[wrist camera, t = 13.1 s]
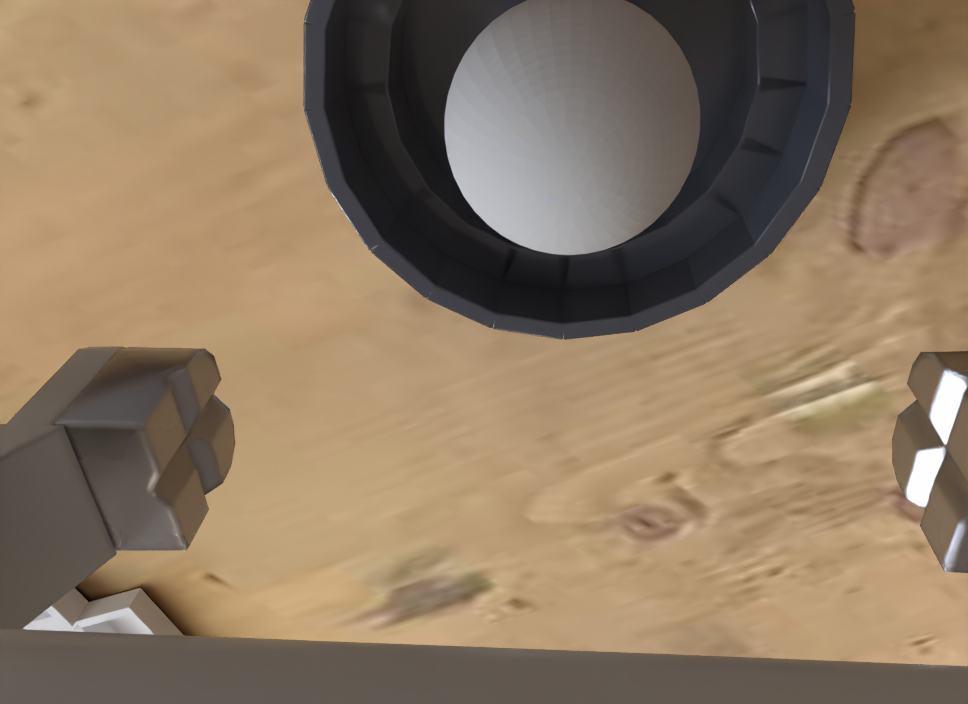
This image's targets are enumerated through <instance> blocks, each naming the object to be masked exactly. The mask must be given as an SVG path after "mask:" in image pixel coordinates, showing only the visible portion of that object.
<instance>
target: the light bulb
mask: <svg viewBox="0 0 968 704" xmlns="http://www.w3.org/2000/svg"><path fill="white" fill-rule="evenodd" d="M699 134H700V104H699V98H698V91H697V86H696V83H695V80H694V77H693V74H692V71H691V68H690V65H689V63H688V61H687V60H686V58H685V56H684V54H683V52H682V50H681V48H680V47H679V45H678V44H677V43H676V41H675V40H674V39H673V38H672V36H671V35H670V34H669V32H668V31H667V30H666V29H665V28H664V27H663V26H662V25H661V24H660V23H659V22H658V21H656V20H655V19H654V18H653V17H652V16H651V15H650V14H648V13H646V12H645V11H643V10H642V9H640V8H639V7H637V6H635V5H634V4H632V3H630V2H627V1H625V0H526V1H524V2H522V3H520V4H518V5H516V6H514V7H512V8H510V9H509V10H507V11H506V12H505V13H503V14H502V15H500V16H499V17H498V18H496V19H495V20H493V21H492V22H491V23H490V24H489V25H488V26H487V27H486V28H485V29H484V30H483V31H482V32H481V33H480V34H479V35H478V36H477V38H476V39H475V40H474V42H473V43H472V45H471V46H470V47H469V49H468V50H467V51H466V53H465V54H464V56H463V58H462V60H461V62H460V64H459V66H458V68H457V70H456V72H455V74H454V77H453V80H452V83H451V86H450V90H449V93H448V97H447V103H446V110H445V143H446V149H447V156H448V160H449V163H450V166H451V169H452V173H453V176H454V178H455V180H456V182H457V184H458V186H459V188H460V190H461V192H462V194H463V196H464V197H465V199H466V200H467V201H468V203H469V204H470V206H471V207H472V208H473V210H474V211H475V212H476V213H477V214H478V215H479V216H480V217H481V218H482V219H483V220H484V221H485V222H486V223H487V224H488V225H489V226H490V227H491V228H493V229H494V230H495V231H497V232H498V233H499V234H501V235H502V236H504V237H506V238H507V239H509V240H511V241H513V242H515V243H517V244H519V245H522V246H524V247H527V248H530V249H532V250H536V251H540V252H545V253H550V254H560V255H577V254H588V253H592V252H597V251H601V250H605V249H608V248H611V247H613V246H616V245H619V244H621V243H623V242H625V241H627V240H629V239H630V238H632V237H634V236H636V235H638V234H639V233H641V232H642V231H643V230H644V229H646V228H647V227H648V226H650V225H651V224H652V223H654V222H655V221H656V220H657V219H658V218H659V217H660V215H661V214H662V213H663V212H664V211H665V210H666V209H667V208H668V207H669V206H670V204H671V203H672V202H673V200H674V199H675V198H676V196H677V195H678V193H679V192H680V190H681V188H682V186H683V184H684V182H685V180H686V179H687V177H688V175H689V173H690V170H691V167H692V164H693V161H694V158H695V155H696V151H697V146H698V140H699Z"/></svg>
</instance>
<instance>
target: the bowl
mask: <svg viewBox="0 0 968 704" xmlns="http://www.w3.org/2000/svg"><path fill="white" fill-rule="evenodd" d="M524 1H526V0H310V3H309V6H308V9H307V12H306V15H305V22H304V108H305V109H304V112H305V115H306V118H307V121H308V125H309V128H310V131H311V135H312V138H313V141H314V145H315V148H316V151H317V154H318V158H319V161H320V164H321V168H322V171H323V174H324V178H325V181H326V184H327V186H328V189H329V190H330V192H331V193H332V195H333V196H334V198H335V199H336V201H337V203H338V204H339V206H340V207H341V209H342V210H343V212H344V213H345V215H346V216H347V218H348V219H349V221H350V222H351V224H352V225H353V227H354V228H355V230H356V231H357V233H358V234H359V236H360V237H361V239H362V240H363V242H364V243H365V245H366V246H367V248H368V249H369V250H371V252H372V253H373V254H374V255H375V256H376V257H377V258H379V259H380V260H381V261H382V262H383V263H384V264H386V265H387V266H388V267H389V268H390V269H392V270H393V271H394V272H395V273H396V274H397V275H399V276H400V277H401V278H402V279H403V280H404V281H406V282H407V283H408V284H409V285H410V286H412V287H413V288H414V289H415V290H416V291H417V292H419V293H420V294H421V295H422V296H423V297H425V298H426V297H427V299H428V300H430V301H432V302H434V303H436V304H439V305H441V306H443V307H445V308H447V309H449V310H452V311H454V312H456V313H458V314H460V315H463V316H465V317H467V318H469V319H471V320H474V321H476V322H478V323H480V324H482V325H485V326H487V327H489V328H493V329H497V330H503V331H509V332H516V333H522V334H529V335H535V336H541V337H548V338H554V339H565V340H566V339H575V338H584V337H593V336H601V335H610V334H619V333H628V332H634V331H635V330H636V331H639V330H641V329H644V328H646V327H649V326H651V325H654V324H656V323H659V322H661V321H664V320H666V319H669V318H671V317H674V316H676V315H679V314H681V313H684V312H686V311H689V310H691V309H694V308H696V307H699V306H701V305H704V304H705V303H706V302H709V301H710V300H712V299H713V298H714V297H716V296H717V295H718V294H719V293H721V292H722V291H723V290H725V289H726V288H727V287H729V286H730V285H731V284H733V283H734V282H735V281H737V280H738V279H739V278H741V277H742V276H743V275H744V274H746V273H747V272H748V271H750V270H751V269H752V268H754V267H755V266H756V265H758V264H759V263H760V262H762V261H763V260H764V259H766V258H767V257H768V256H769V254H772V252H773V251H774V250H775V248H776V247H777V246H778V244H779V243H780V242H781V240H782V239H783V238H784V236H785V235H786V234H787V232H788V231H789V230H790V228H791V227H792V226H793V224H794V223H795V222H796V220H797V219H798V218H799V216H800V215H801V214H802V212H803V211H804V210H805V208H806V207H807V206H808V204H809V203H810V202H811V200H812V199H813V198H814V196H815V195H816V194H817V192H818V191H819V189H820V187H821V186H822V183H823V180H824V178H825V175H826V172H827V170H828V167H829V164H830V162H831V159H832V156H833V153H834V151H835V148H836V145H837V143H838V140H839V137H840V134H841V132H842V129H843V126H844V124H845V121H846V118H847V116H848V113H849V110H850V107H851V105H850V104H851V101H852V80H853V57H854V35H855V12H854V10H855V8H854V4H853V1H852V0H625V1H627V2H630V3H632V4H634V5H635V6H637V7H639V8H640V9H642V10H643V11H645V12H646V13H648V14H650V15H651V16H652V17H653V18H654V19H655V20H656V21H658V22H659V23H660V24H661V25H662V26H663V27H664V28H665V29H666V30H667V31H668V32H669V34H670V35H671V36H672V38H673V39H674V40H675V41H676V43H677V44H678V45H679V47H680V48H681V50H682V52H683V54H684V56H685V58H686V60H687V61H688V63H689V65H690V68H691V71H692V74H693V77H694V80H695V83H696V86H697V91H698V98H699V104H700V134H699V140H698V146H697V151H696V155H695V158H694V161H693V164H692V167H691V170H690V173H689V175H688V177H687V179H686V180H685V182H684V184H683V186H682V188H681V190H680V192H679V193H678V195H677V196H676V198H675V199H674V200H673V202H672V203H671V204H670V206H669V207H668V208H667V209H666V210H665V211H664V212H663V213H662V214H661V215H660V217H659V218H658V219H657V220H656V221H655V222H654V223H652V224H651V225H650V226H648V227H647V228H646V229H644V230H643V231H642V232H641V233H639V234H638V235H636V236H634V237H632V238H630V239H629V240H627V241H625V242H623V243H621V244H619V245H616V246H613V247H611V248H608V249H605V250H601V251H597V252H592V253H588V254H577V255H560V254H550V253H545V252H540V251H536V250H532V249H530V248H527V247H524V246H522V245H519V244H517V243H515V242H513V241H511V240H509V239H507V238H506V237H504V236H502V235H501V234H499V233H498V232H497V231H495V230H494V229H493V228H491V227H490V226H489V225H488V224H487V223H486V222H485V221H484V220H483V219H482V218H481V217H480V216H479V215H478V214H477V213H476V212H475V211H474V210H473V208H472V207H471V206H470V204H469V203H468V201H467V200H466V199H465V197H464V196H463V194H462V192H461V190H460V188H459V186H458V184H457V182H456V180H455V178H454V176H453V173H452V169H451V166H450V163H449V160H448V156H447V149H446V143H445V110H446V103H447V97H448V93H449V90H450V86H451V83H452V80H453V77H454V74H455V72H456V70H457V68H458V66H459V64H460V62H461V60H462V58H463V56H464V54H465V53H466V51H467V50H468V49H469V47H470V46H471V45H472V43H473V42H474V40H475V39H476V38H477V36H478V35H479V34H480V33H481V32H482V31H483V30H484V29H485V28H486V27H487V26H488V25H489V24H490V23H491V22H492V21H493V20H495V19H496V18H498V17H499V16H500V15H502V14H503V13H505V12H506V11H507V10H509V9H510V8H512V7H514V6H516V5H518V4H520V3H522V2H524Z"/></svg>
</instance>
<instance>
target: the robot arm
mask: <svg viewBox="0 0 968 704" xmlns="http://www.w3.org/2000/svg"><path fill="white" fill-rule="evenodd" d="M220 381H221V377H220V373H219V370H218V367H217V364H216V361H215V358H214V356H213V355H212V354H211V353H209V352H208V351H207V350H206V349H189V348H145V347H128V348H125V347H88V348H83V349H78V350H77V351H76V352H75V353H74V354H73V355H72V356H71V358H70V359H69V360H68V361H67V362H66V363H65V364H64V365H63V366H62V367H61V368H60V369H59V370H58V371H57V372H56V373H55V374H54V375H53V376H52V377H51V378H50V379H49V380H48V381H47V382H46V383H45V385H44V386H43V387H42V388H41V389H40V390H39V391H38V392H37V393H36V394H35V395H34V396H33V397H32V398H31V399H30V400H29V401H28V402H27V403H26V404H25V405H24V406H23V407H22V408H21V409H20V410H19V412H18V413H17V414H16V415H15V416H14V417H13V418H12V419H11V420H10V421H9V422H8V423H7V424H6V425H0V704H968V666H947V665H923V664H898V663H873V662H848V661H824V660H799V659H774V658H750V657H725V656H700V655H676V654H650V653H623V652H597V651H570V650H544V649H517V648H491V647H464V646H438V645H411V644H385V643H358V642H332V641H306V640H281V639H255V638H230V637H204V636H179V635H153V634H127V633H102V632H76V631H51V630H25V629H23V628H24V627H25V626H27V625H28V624H29V623H30V622H32V621H33V620H34V619H35V618H37V617H38V616H39V615H40V614H42V613H43V612H44V611H45V610H47V609H48V608H49V607H51V606H52V605H53V604H54V603H56V602H57V601H58V600H59V599H61V598H62V597H63V596H64V595H66V594H67V593H68V592H69V591H71V590H72V589H73V588H74V587H76V586H77V585H78V584H79V583H81V582H82V581H83V580H84V579H86V578H87V577H88V576H89V575H91V574H92V573H93V572H94V571H96V570H97V569H98V568H99V567H101V566H102V565H103V564H105V563H106V562H107V561H108V560H110V559H111V558H112V557H113V556H115V555H116V550H187V549H188V547H189V546H190V544H191V542H192V540H193V538H194V536H195V534H196V533H197V531H198V529H199V527H200V525H201V523H202V521H203V520H204V518H205V516H206V514H207V512H208V510H209V508H208V505H207V501H206V498H205V495H206V494H207V493H209V492H210V491H212V490H213V489H215V488H216V487H218V486H219V485H221V484H222V483H223V482H224V480H225V478H226V476H227V474H228V472H229V470H230V468H231V464H232V458H233V453H234V447H235V435H234V424H233V420H232V417H231V413H230V409H229V408H228V407H227V406H226V405H225V404H224V403H222V402H221V401H220V400H219V399H218V398H217V397H216V396H215V395H214V392H215V390H216V388H217V386H218V384H219V383H220ZM907 384H908V386H909V388H910V389H911V391H912V392H913V394H914V396H915V397H916V399H917V400H916V401H915V402H914V403H912V404H911V405H910V406H909V407H908V408H906V409H905V410H904V411H903V412H902V413H901V414H899V415H898V417H897V421H896V426H895V430H894V434H893V438H892V463H893V467H894V471H895V475H896V479H897V481H898V483H899V486H900V488H901V490H902V492H903V494H904V496H905V497H906V498H908V499H909V500H911V501H912V502H914V503H915V504H917V505H918V506H920V507H921V508H923V509H924V510H925V511H924V514H923V517H922V520H921V524H920V527H921V529H922V531H923V532H924V534H925V536H926V538H927V540H928V542H929V544H930V546H931V548H932V550H933V551H934V553H935V555H936V557H937V559H938V561H939V563H940V565H941V567H942V568H943V570H944V572H960V573H968V351H952V352H921V353H920V354H919V356H918V357H917V359H916V360H915V362H914V363H913V365H912V369H911V372H910V375H909V379H908V382H907Z"/></svg>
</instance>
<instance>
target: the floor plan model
mask: <svg viewBox="0 0 968 704" xmlns="http://www.w3.org/2000/svg"><path fill="white" fill-rule="evenodd" d="M23 629H25V630H51V631H76V632H102V633H127V634H153V635H179V636H184V635H183V634H182V633H181V632H180V631H179V630H178V629H177V628H176V626H175V625H174V624H173V623H172V622H171V621H170V620H169V619H168V618H167V617H166V615H165V614H164V613H163V612H162V611H161V610H160V609H159V608H158V607H157V606H156V605H155V603H154V602H153V601H152V600H151V599H150V598H149V597H148V596H147V595H146V594H145V592H144V591H143V590H142V589H141V588H138V589H134V590H130V591H127V592H123V593H120V594H116V595H112V596H109V597H105V598H101V599H98V600H94V601H91V602H88V601H87V600H86V599H85V598H84V597H83V596H82V595H81V594H80V593H79V592H78V591H77V590H76V589H75V587H74V588H73V589H72V590H71V591H69V592H68V593H67V594H66V595H64V596H63V597H62V598H61V599H59V600H58V601H57V602H56V603H54V604H53V605H52V606H51V607H49V608H48V609H47V610H45V611H44V612H43V613H42V614H40V615H39V616H38V617H37V618H35V619H34V620H33V621H32V622H30V623H29V624H28V625H27V626H25V627H24V628H23Z"/></svg>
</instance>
